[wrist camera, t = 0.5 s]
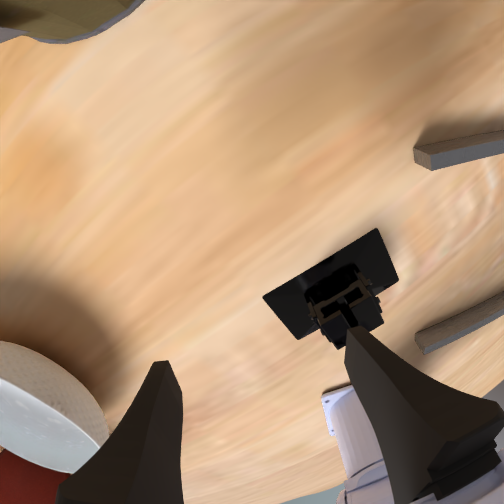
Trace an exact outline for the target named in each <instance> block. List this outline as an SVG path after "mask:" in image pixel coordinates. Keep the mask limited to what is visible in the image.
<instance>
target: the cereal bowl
mask: <svg viewBox="0 0 504 504" xmlns="http://www.w3.org/2000/svg"><path fill="white" fill-rule="evenodd" d="M108 438H109V430H108V425H107V422H106V419H105V417H104V413H103V412H102V410H101V408H100V406H99V405H98V403H97V401H96V400H95V399H94V397H93V395H91V394H90V392H89V391H88V390H87V389H86V388H85V387H84V386H83V384H82V383H81V382H79V381H78V380H77V379H76V378H75V377H74V376H73V375H72V374H70V373H69V372H67V371H66V370H65V369H64V368H62V367H61V366H59V365H58V364H56V363H55V362H53V361H52V360H50V359H48V358H47V357H45V356H43V355H41V354H39V353H38V352H35V351H33V350H31V349H29V348H26V347H24V346H20V345H18V344H15V343H10V342H4V341H0V445H1V446H3V447H4V448H6V449H7V450H9V451H11V452H12V453H14V454H16V455H18V456H20V457H22V458H24V459H26V460H28V461H30V462H33V463H35V464H38V465H40V466H43V467H46V468H49V469H53V470H56V471H60V472H66V473H75V472H76V471H77V470H78V469H79V468H81V467H82V466H83V465H84V464H85V463H86V462H87V461H88V460H89V459H90V458H91V457H92V456H93V455H94V454H95V453H96V452H97V451H98V450H99V449H100V447H101V446H102V445H103V444H104V443H105V442H106V440H107V439H108Z"/></svg>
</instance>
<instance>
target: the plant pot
mask: <svg viewBox="0 0 504 504" xmlns="http://www.w3.org/2000/svg"><path fill="white" fill-rule="evenodd" d="M70 476H71V474H70V473H66V472H60V471H56V470H53V469H49V468H46V467H43V466H40V465H38V464H35V463H33V462H30V461H28V460H26V459H24V458H22V457H20V456H18V455H16V454H14V453H12V452H11V451H9V450H7V449H6V448H5V449H4V450H3V451H2V452H1V453H0V504H55V499H56V493H57V489H58V485H59V484H60V483H62V482H63V481H64V480H66V479H67V478H68V477H70Z"/></svg>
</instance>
